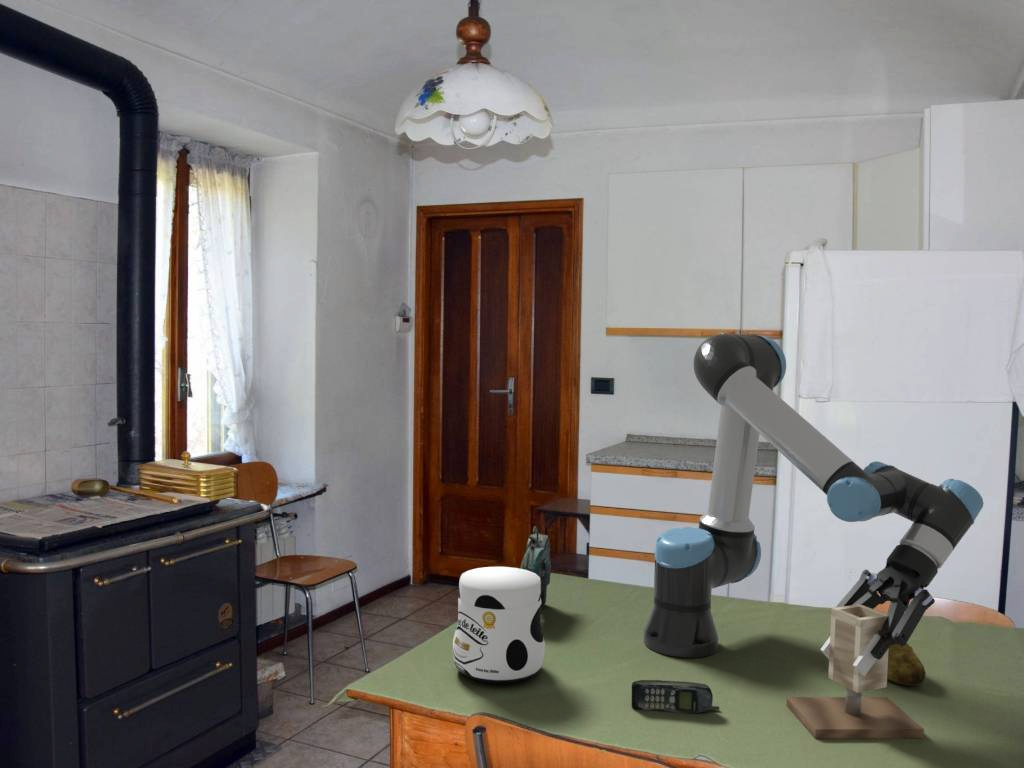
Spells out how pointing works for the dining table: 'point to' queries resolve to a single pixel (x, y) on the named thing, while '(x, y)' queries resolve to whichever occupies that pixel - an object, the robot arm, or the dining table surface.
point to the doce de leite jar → (499, 625)
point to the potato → (904, 666)
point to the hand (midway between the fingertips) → (842, 662)
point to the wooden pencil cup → (855, 647)
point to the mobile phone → (672, 696)
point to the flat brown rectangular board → (853, 717)
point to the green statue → (538, 560)
